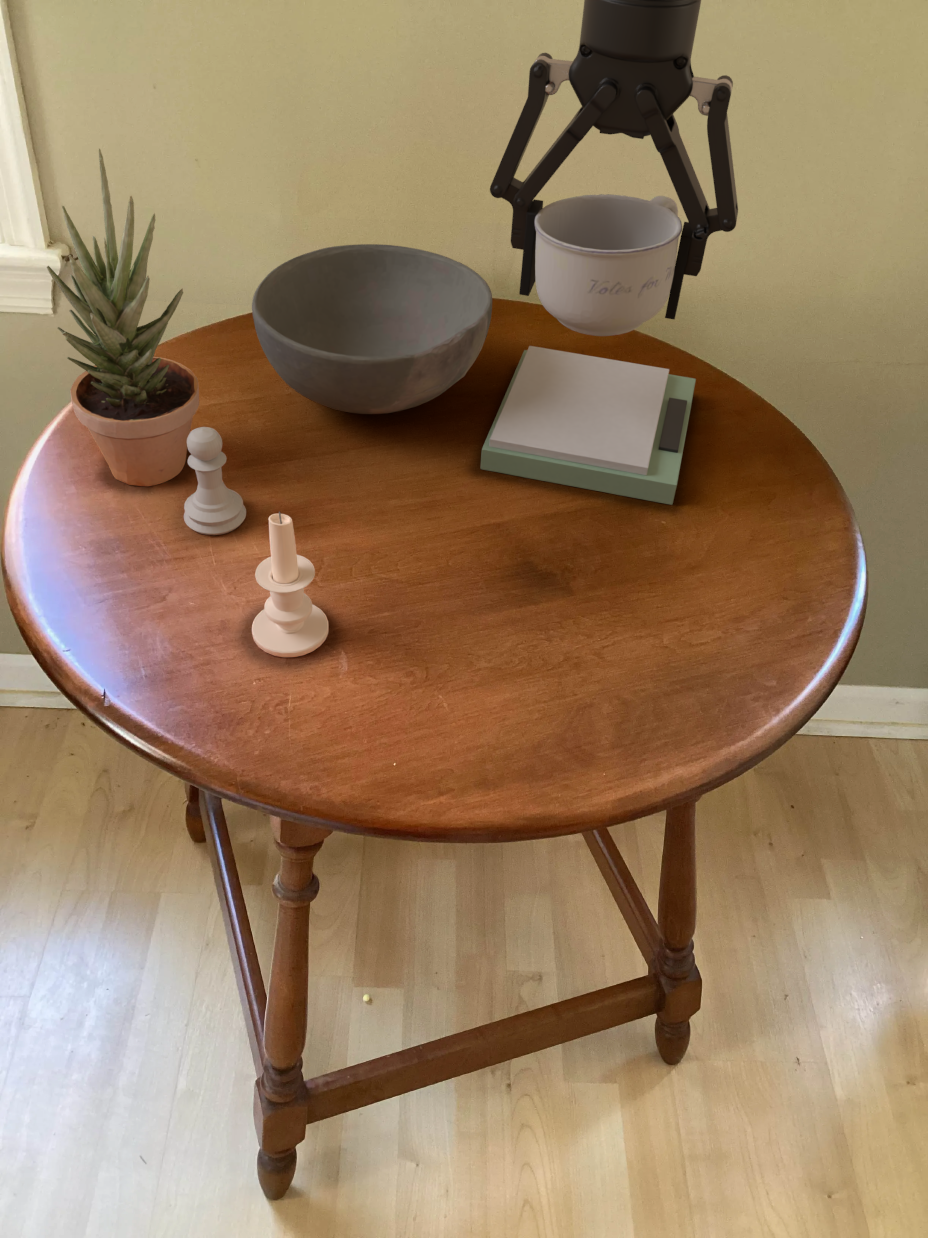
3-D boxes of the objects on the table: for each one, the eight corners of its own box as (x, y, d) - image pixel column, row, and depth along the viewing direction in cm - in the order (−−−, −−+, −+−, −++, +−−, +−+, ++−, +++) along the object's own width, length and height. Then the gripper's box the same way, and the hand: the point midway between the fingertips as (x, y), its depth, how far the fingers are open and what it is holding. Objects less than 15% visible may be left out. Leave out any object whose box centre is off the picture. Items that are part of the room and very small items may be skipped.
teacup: (588, 366, 77) (603, 261, 71) (499, 306, 83) (505, 205, 77) (721, 317, 83) (743, 218, 77) (628, 265, 89) (643, 170, 84)
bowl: (371, 315, 105) (369, 217, 98) (530, 393, 96) (541, 290, 89) (213, 391, 93) (198, 285, 86) (377, 487, 84) (375, 378, 77)
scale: (691, 397, 96) (697, 370, 94) (672, 505, 84) (678, 476, 82) (522, 368, 99) (525, 341, 97) (480, 469, 87) (482, 440, 85)
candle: (286, 595, 75) (274, 476, 67) (344, 625, 73) (338, 506, 65) (236, 636, 71) (218, 516, 64) (295, 669, 69) (284, 549, 62)
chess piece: (255, 527, 80) (244, 439, 74) (194, 543, 78) (179, 454, 73) (235, 493, 83) (224, 406, 77) (176, 507, 81) (161, 420, 76)
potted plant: (220, 486, 83) (176, 172, 66) (98, 509, 81) (18, 188, 63) (195, 420, 90) (149, 119, 73) (81, 439, 87) (5, 131, 70)
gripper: (829, -13, 68) (749, 301, 83) (483, -52, 72) (467, 256, 87) (829, 17, 63) (744, 346, 78) (455, -27, 66) (444, 296, 82)
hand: (598, 299), depth 83 cm, fingers closed on teacup, 11 cm apart
